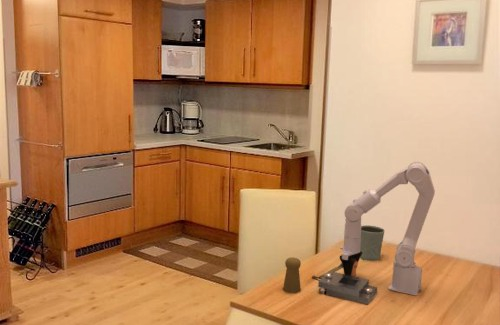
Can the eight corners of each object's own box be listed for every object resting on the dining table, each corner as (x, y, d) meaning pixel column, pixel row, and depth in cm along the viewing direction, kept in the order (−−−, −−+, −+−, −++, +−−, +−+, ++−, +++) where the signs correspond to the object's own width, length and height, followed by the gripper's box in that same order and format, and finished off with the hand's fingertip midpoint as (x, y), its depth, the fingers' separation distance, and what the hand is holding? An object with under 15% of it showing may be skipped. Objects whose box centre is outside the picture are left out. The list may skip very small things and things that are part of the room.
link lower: (377, 292, 171) (377, 284, 170) (367, 304, 161) (368, 295, 161) (337, 283, 178) (338, 275, 177) (326, 294, 168) (326, 286, 168)
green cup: (352, 253, 209) (354, 225, 207) (373, 252, 212) (375, 224, 210) (365, 262, 199) (367, 233, 198) (387, 260, 202) (389, 231, 201)
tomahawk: (326, 286, 178) (326, 283, 178) (310, 279, 182) (311, 276, 182) (357, 270, 193) (357, 267, 193) (342, 264, 197) (342, 261, 197)
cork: (289, 284, 176) (290, 254, 174) (304, 289, 172) (305, 258, 170) (279, 289, 171) (280, 258, 169) (294, 294, 167) (295, 263, 166)
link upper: (368, 290, 172) (369, 276, 172) (358, 302, 163) (359, 287, 162) (329, 281, 179) (330, 268, 178) (317, 292, 170) (318, 278, 169)
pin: (358, 279, 182) (359, 260, 181) (354, 284, 178) (355, 265, 177) (345, 276, 185) (346, 258, 183) (340, 280, 180) (341, 262, 179)
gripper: (348, 229, 187) (346, 264, 189) (334, 239, 174) (332, 277, 176) (366, 233, 183) (364, 268, 186) (354, 243, 171) (351, 281, 173)
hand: (350, 273), depth 181 cm, fingers closed on pin, 5 cm apart
